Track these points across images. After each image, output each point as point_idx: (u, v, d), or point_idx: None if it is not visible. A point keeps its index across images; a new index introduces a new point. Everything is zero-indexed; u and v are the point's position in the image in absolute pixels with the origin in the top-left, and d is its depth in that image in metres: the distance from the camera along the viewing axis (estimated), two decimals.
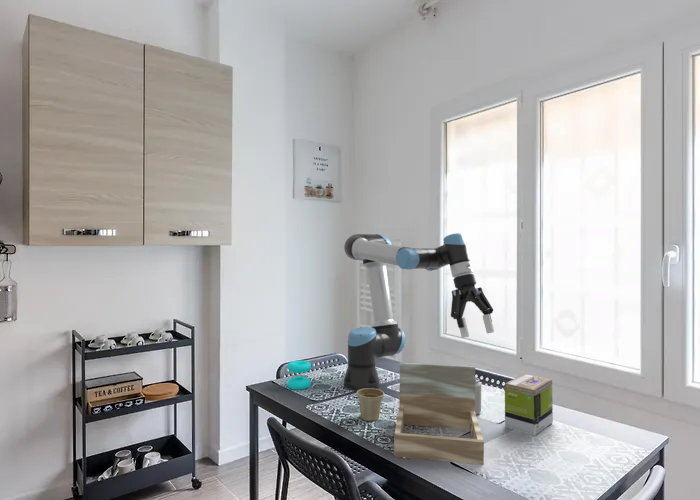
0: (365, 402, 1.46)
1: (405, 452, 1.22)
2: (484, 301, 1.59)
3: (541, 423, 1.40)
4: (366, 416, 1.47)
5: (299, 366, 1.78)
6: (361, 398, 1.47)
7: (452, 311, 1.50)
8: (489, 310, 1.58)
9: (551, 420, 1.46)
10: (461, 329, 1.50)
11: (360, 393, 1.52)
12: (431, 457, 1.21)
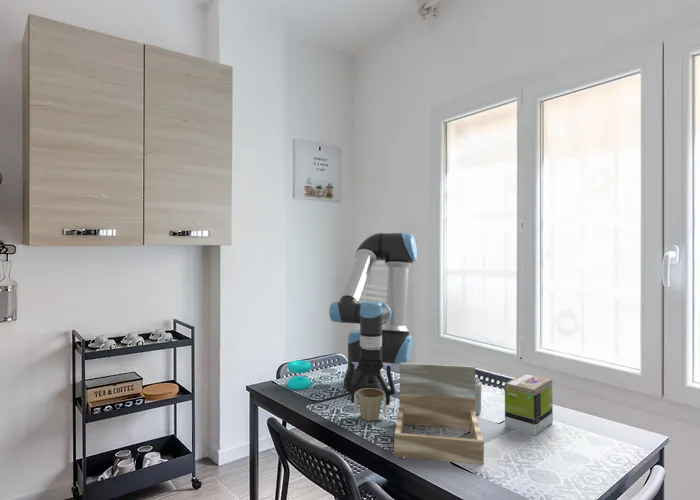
0: (365, 402, 1.46)
1: (405, 452, 1.22)
2: None
3: (541, 423, 1.40)
4: (366, 416, 1.47)
5: (299, 366, 1.78)
6: (361, 398, 1.47)
7: None
8: (388, 393, 1.48)
9: (551, 420, 1.46)
10: None
11: (360, 393, 1.52)
12: (431, 457, 1.21)
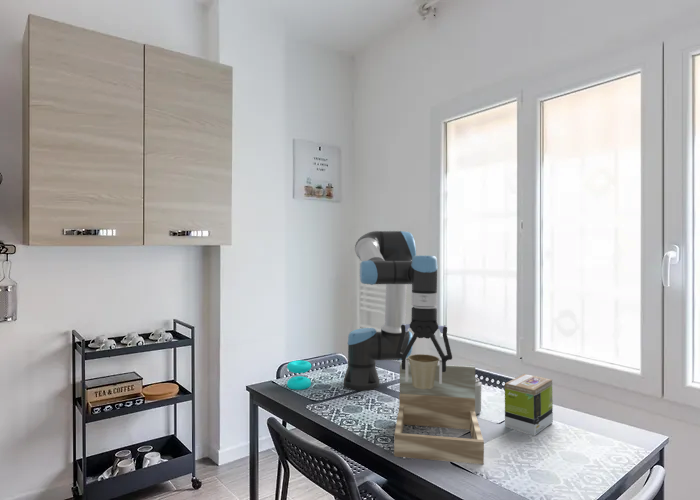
0: (418, 367, 1.29)
1: (405, 452, 1.22)
2: None
3: (541, 423, 1.40)
4: (420, 384, 1.30)
5: (299, 366, 1.78)
6: (414, 363, 1.30)
7: None
8: (444, 357, 1.30)
9: (551, 420, 1.46)
10: None
11: (411, 359, 1.35)
12: (431, 457, 1.21)
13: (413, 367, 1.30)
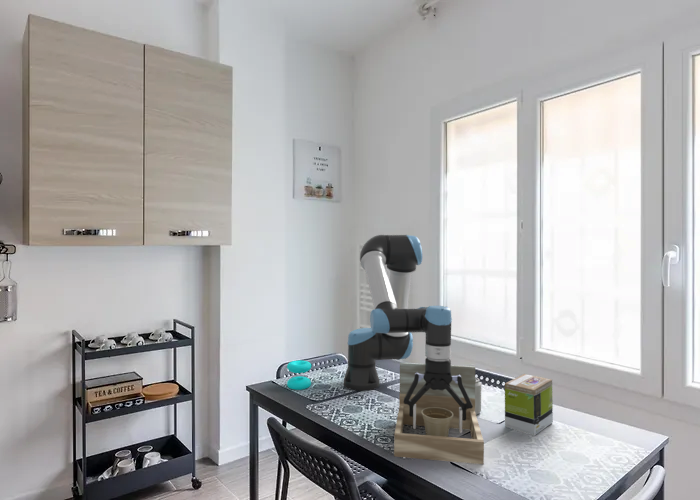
0: (433, 424, 1.29)
1: (405, 452, 1.22)
2: (462, 393, 1.30)
3: (541, 423, 1.40)
4: None
5: (299, 366, 1.78)
6: (428, 419, 1.29)
7: None
8: (464, 406, 1.30)
9: (551, 420, 1.46)
10: None
11: (424, 413, 1.35)
12: (431, 457, 1.21)
13: (427, 423, 1.30)
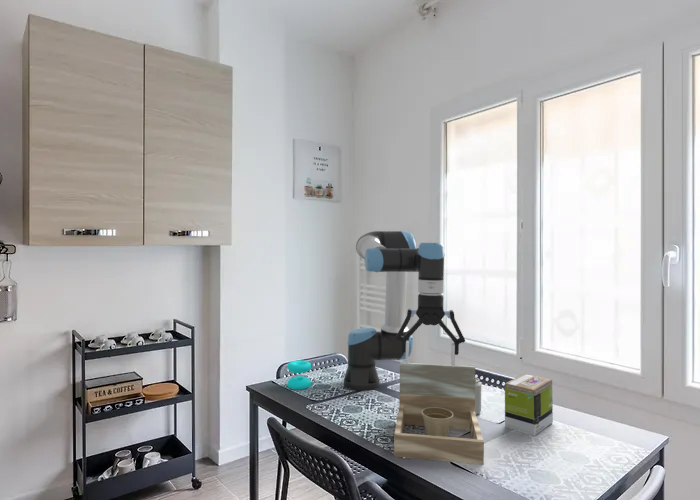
0: (433, 424, 1.29)
1: (405, 452, 1.22)
2: None
3: (541, 423, 1.40)
4: None
5: (299, 366, 1.78)
6: (428, 419, 1.29)
7: (398, 332, 1.35)
8: (457, 340, 1.30)
9: (551, 420, 1.46)
10: None
11: (424, 413, 1.35)
12: (431, 457, 1.21)
13: (427, 423, 1.30)
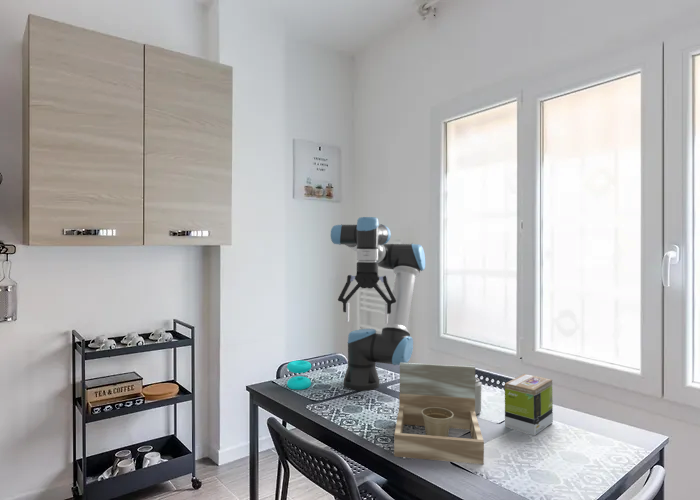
0: (433, 424, 1.29)
1: (405, 452, 1.22)
2: None
3: (541, 423, 1.40)
4: None
5: (299, 366, 1.78)
6: (428, 419, 1.29)
7: None
8: (389, 301, 1.51)
9: (551, 420, 1.46)
10: None
11: (424, 413, 1.35)
12: (431, 457, 1.21)
13: (427, 423, 1.30)
